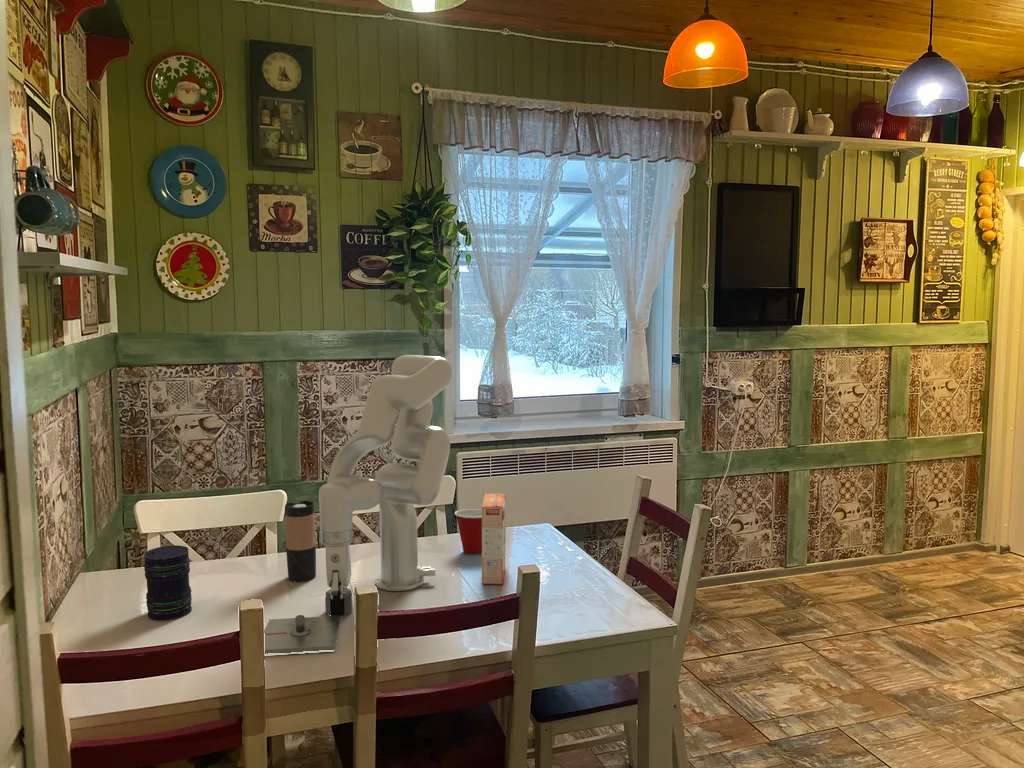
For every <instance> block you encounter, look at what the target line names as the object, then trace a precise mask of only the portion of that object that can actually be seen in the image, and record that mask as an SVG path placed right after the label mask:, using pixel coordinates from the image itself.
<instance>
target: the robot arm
mask: <svg viewBox="0 0 1024 768" xmlns="http://www.w3.org/2000/svg"><path fill="white" fill-rule="evenodd" d="M452 373H453V370H452V365H451V364H450V362H449V361H448V360H447V359H446V358H445V357H441V356H438V355H437V356H436V355H418V354H416V355H415V354H406V355H405V354H403V355H401V356H398V357H396V358H395V359H394V360H393V362H392V364H391V374H384V375H379V376H377V377H375V378H374V380H373V381H372V383H371V385H370V388H369V391H368V395H367V397H366V401H365V404H364V405H365V406H364V409H363V412H362V415H361V419H360V422H359V426H358V429H357V431H356V433H354V435H353V436H352V437H350V438H349V439H348V440H347V441H346V442H345V443H344V445H343V446H342V447H341V448H340V450H339V451H337V453H336V455H335V456H334V459H333V461H332V463H331V467H330V470H329V473H328V476H327V477H328V478H327V481H326V483H325V484H323V485H321V486H320V488H319V490H318V508H319V510H318V511H319V534H320V539H319V540H320V545H322V546H325V567H326V584H327V587H329V588H330V589H331V598H330V610H331V616H337V615H344V614H345V603H344V598H343V588H348V587H349V585H350V582H351V578H352V564H351V547H350V544H352V543H353V542H354V528H353V527H354V526H353V525H354V524H353V523H354V522H353V512H356V511H364V510H370V509H373V508H375V507H376V506H377V505H378V510H379V535H380V536H379V538H380V539H379V541H380V543H379V545H380V571H381V572H380V574H379V575H378V576H377V577H376V578H375V586H376V587H377V589H381V590H383V591H388V592H403V591H411V590H414V589H418V588H419V587H421V586H422V585H423V584H424V583H425V577H436V568H431V566H422V565H420V561H419V558H418V555H419V554H418V549H419V548H418V516H417V512H416V509H415V506H414V505H416V506H417V505H418V506H428V505H431V504H432V503H434V502H435V501H436V499H437V498H438V496H439V493H440V491H441V487H442V483H443V480H444V476H445V473H446V469H447V466H448V462H449V461H448V460H449V457H450V451H451V441H450V440H451V439H450V436H449V434H448V432H447V431H446V430H445V429H444V428H443V427H440V426H436V425H431V424H432V423H431V421H432V418H433V412H434V405H433V398H435V397H436V396H437V395H438V394H440V393H441V392H442V391H443V390H445V388H446V387H447V386H448V385H449V384H450V382H451V379H452V375H453V374H452ZM390 442H391V446H390V448H391V452H392V454H393V455H394V456H395V457H396V458H399V459H402V460H407V461H413V462H418V466H417V465H411V464H407V463H406V464H405V463H399V462H397V463H396V462H395V463H393V462H391V463H387V464H384V465H382V466H381V467H380V468H379V469H378V470H377V472H376V474H375V476H374V479H373V478H370V477H366V476H365V477H364V476H359V475H353V473H354V470H355V468H356V467H357V464H359V463H358V462H359V461H360V460H361V459H362V458H363V457H364V456H366V455H367V454H368V453H370V452H371V451H374V450H376V449H378V448H381V447H383V446H385V445H387V444H388V443H390ZM338 588H340V590H338Z"/></svg>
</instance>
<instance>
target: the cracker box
mask: <svg viewBox="0 0 1024 768" xmlns="http://www.w3.org/2000/svg"><path fill="white" fill-rule="evenodd" d="M481 510H482V553H481V585H503V584H504V577H505V570H506V535H507V534H506V528H507V527H506V526H507V525H506V524H507V523H506V520H507V519H506V518H507V517H506V514H507V513H506V494H505V493H485V494H484V497H483V502H482V506H481Z"/></svg>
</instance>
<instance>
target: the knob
mask: <svg viewBox="0 0 1024 768" xmlns="http://www.w3.org/2000/svg"><path fill="white" fill-rule="evenodd" d="M338 590H340V588H338ZM330 598H331V588H330V589H328V590H326V591H325V598H324V602H325V603H324V604H325V606H324V607H325V615H326V614H329V615H331V610H330ZM343 598H344V603H345V614H344V615H337V616H343V617H345V615H346V616H348V615H351V614H352V613H353V592H352V590H351V589H350V588H348V587H347V588H343Z"/></svg>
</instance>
